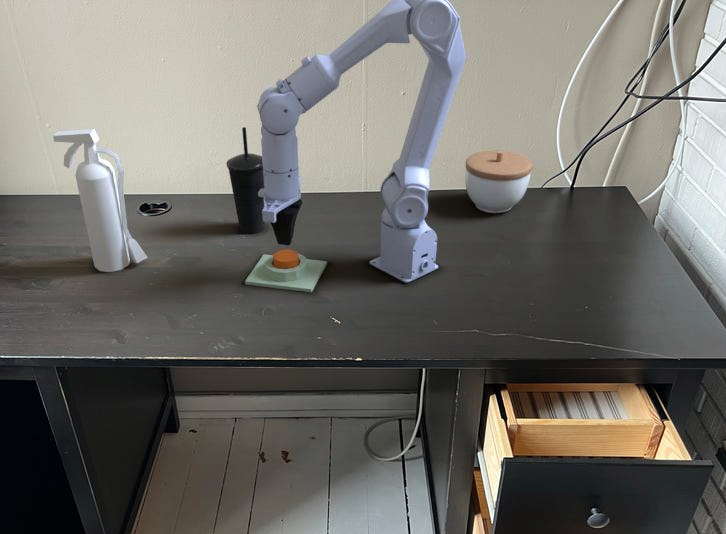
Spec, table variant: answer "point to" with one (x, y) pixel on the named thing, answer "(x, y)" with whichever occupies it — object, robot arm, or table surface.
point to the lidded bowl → (497, 179)
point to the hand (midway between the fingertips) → (284, 243)
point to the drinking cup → (247, 188)
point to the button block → (287, 274)
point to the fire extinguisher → (101, 202)
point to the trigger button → (285, 259)
